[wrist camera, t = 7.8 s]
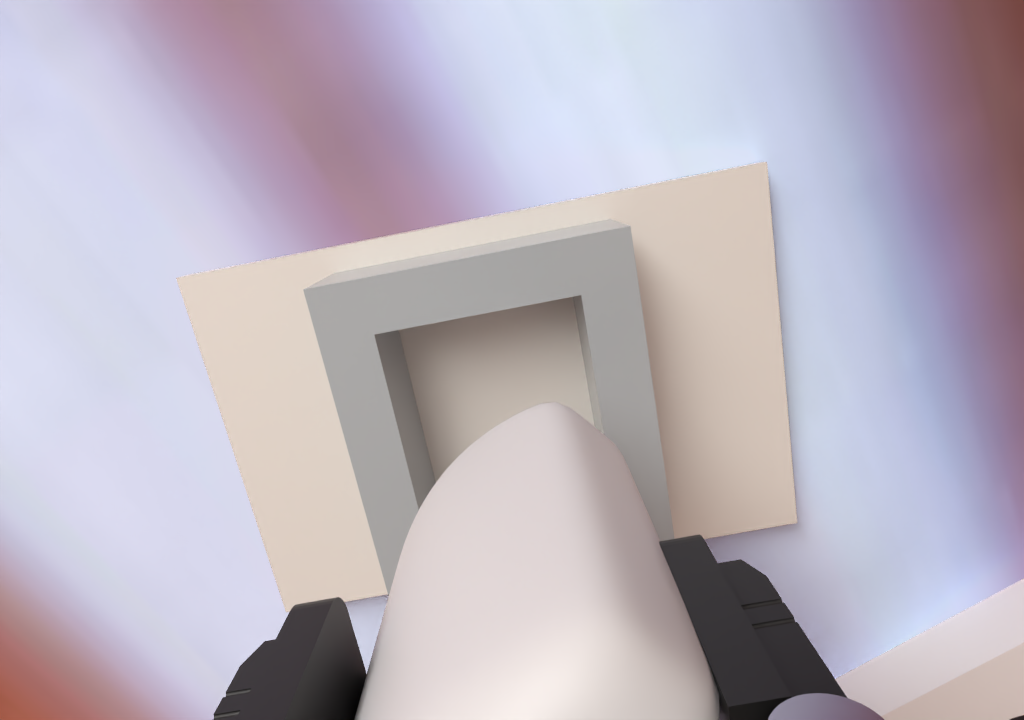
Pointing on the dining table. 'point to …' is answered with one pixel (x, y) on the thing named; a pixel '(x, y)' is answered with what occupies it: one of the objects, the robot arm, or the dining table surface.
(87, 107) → the dining table surface
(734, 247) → the holder stand
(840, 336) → the dining table surface
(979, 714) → the holder
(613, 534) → the eye dropper bottle
